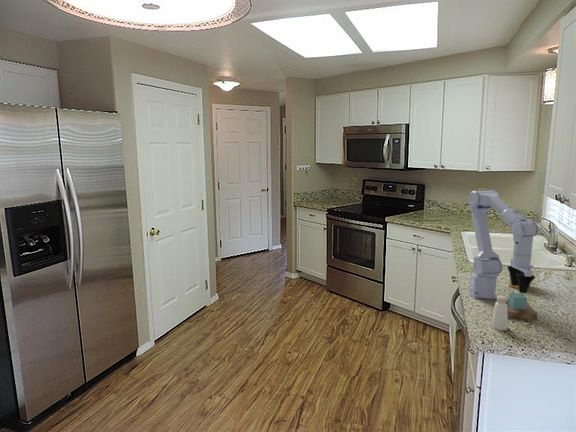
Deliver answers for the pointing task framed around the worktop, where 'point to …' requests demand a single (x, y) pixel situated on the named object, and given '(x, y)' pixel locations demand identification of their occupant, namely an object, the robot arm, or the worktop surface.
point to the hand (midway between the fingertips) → (518, 288)
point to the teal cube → (517, 301)
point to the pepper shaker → (500, 314)
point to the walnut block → (521, 313)
